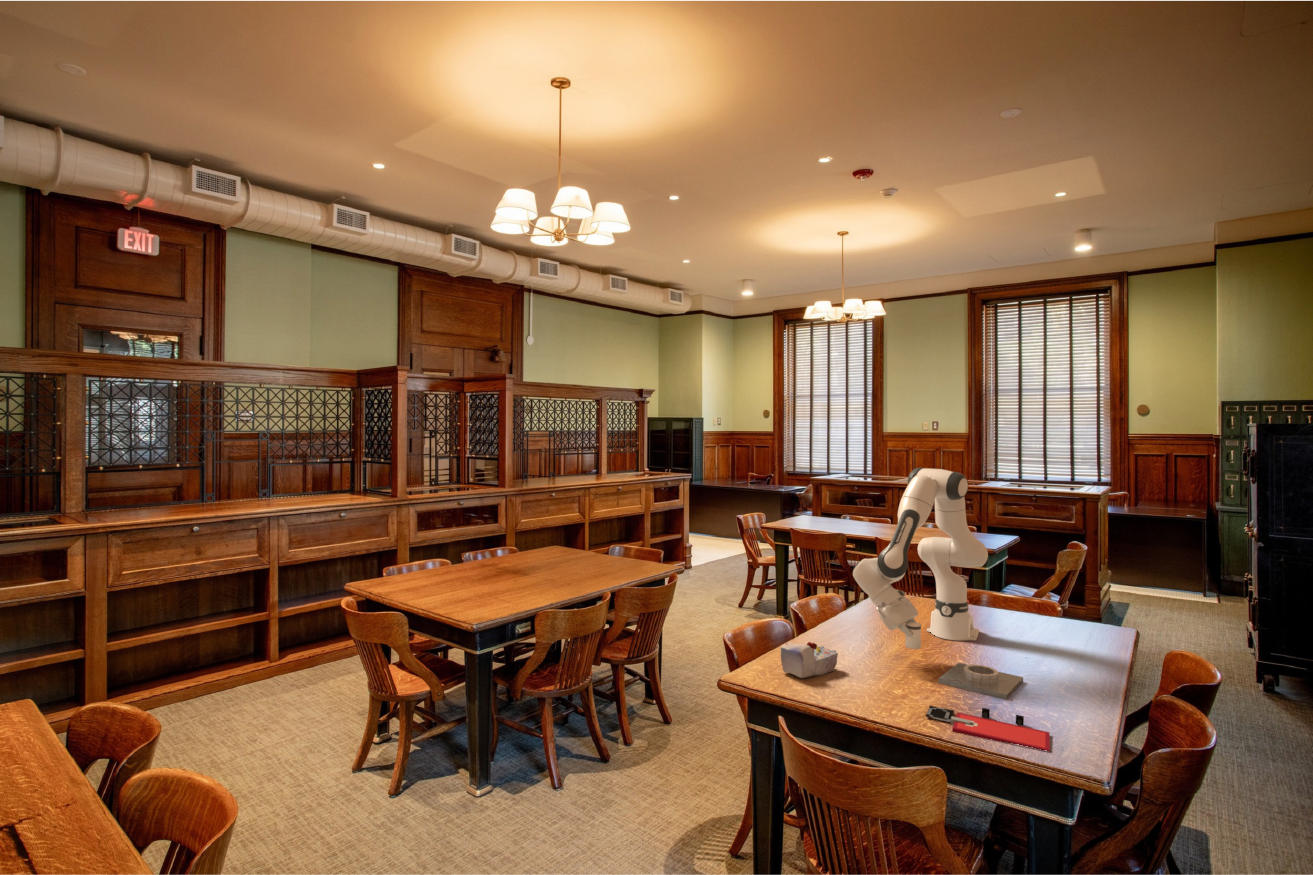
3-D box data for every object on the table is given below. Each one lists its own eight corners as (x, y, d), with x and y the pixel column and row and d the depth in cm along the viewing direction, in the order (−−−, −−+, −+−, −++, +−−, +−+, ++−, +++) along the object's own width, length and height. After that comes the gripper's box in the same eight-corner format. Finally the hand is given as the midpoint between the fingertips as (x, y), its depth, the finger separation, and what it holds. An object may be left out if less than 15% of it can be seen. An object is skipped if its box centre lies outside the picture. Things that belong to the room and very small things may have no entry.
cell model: (776, 641, 219) (809, 630, 233) (775, 673, 219) (809, 661, 233) (809, 650, 210) (842, 638, 223) (809, 684, 209) (842, 670, 223)
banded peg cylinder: (908, 643, 231) (908, 620, 231) (923, 646, 228) (923, 623, 228) (902, 646, 227) (903, 623, 227) (917, 650, 224) (917, 626, 224)
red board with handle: (930, 706, 194) (922, 726, 181) (931, 696, 194) (922, 716, 181) (1049, 731, 178) (1049, 755, 165) (1049, 721, 178) (1049, 744, 165)
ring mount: (958, 666, 227) (958, 655, 227) (1023, 681, 213) (1023, 669, 213) (938, 682, 212) (938, 670, 212) (1006, 699, 198) (1006, 686, 198)
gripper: (881, 601, 224) (909, 635, 218) (904, 590, 239) (932, 622, 233) (868, 611, 227) (896, 646, 221) (892, 600, 243) (919, 632, 236)
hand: (914, 633), depth 227 cm, fingers closed on banded peg cylinder, 5 cm apart
